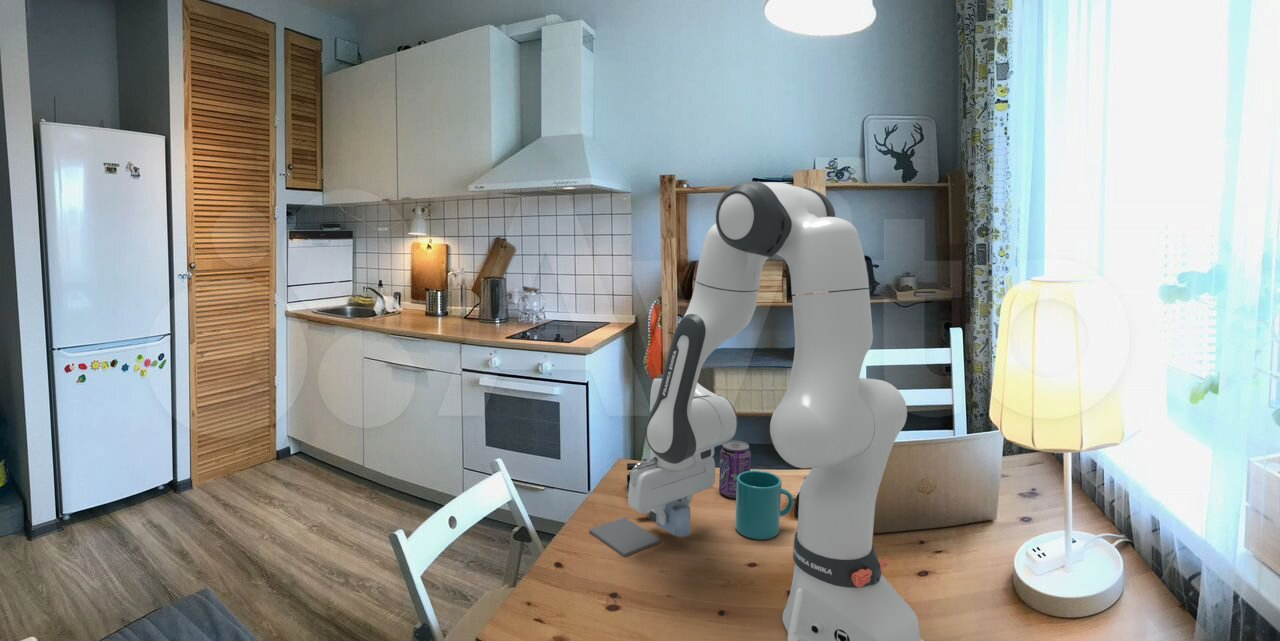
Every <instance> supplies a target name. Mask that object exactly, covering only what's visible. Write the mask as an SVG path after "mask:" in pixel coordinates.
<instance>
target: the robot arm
mask: <svg viewBox="0 0 1280 641" xmlns="http://www.w3.org/2000/svg"><path fill="white" fill-rule="evenodd" d="M774 255H778V256H780V257H782V259H783V260H784V261H785V262H786V264H787V266H788V268H789V274H790V287H791V288H790V289H791V300H792V313H793V327H794V329H793V330H794V353H793V362H792V366H791V371H790V375H789V378H788V379H789V380H788V383H787V387H786V390H785V393H784V395H783V397H782V399H781V401H780V403H779V404H778V406H776V408H775V410H774V411H773V413H772V414H771V419H770V423H769V433H770V439H771V442H772V444H773V447H774V449H775V450H776V452H777V453H778V455H779V456H780V457H781V458H782V459H783V460H784V461H785V462H786V463H788V464H789V465H791V466H793V467H795V468H798V469H799V468H800V469H811V470H810V471H809V473H808V474H807V476H806V477H805V478H804V480H803V482H802V484H801V486H800V489H799V494H798V512H797V531H796V532H795V534H794V539H793V550H792V559H793V561H794V568H793V577H792V580H791V587H790V591H789V594H788V595H789V596H788V599H787V602H786V605H785V608H784V609H783V612H782V624H783V625H784V628H785V630H786V632H787V639H786V641H925V640H924V639H923V638H922V637H921V632H920V624H919V619H918V616H917V615H916V612H915V611H914V610H913V609H912V608H911V606H910V605H909V604H908V603H907V602H906V601H905V600H904V598H902V596H901V595H900V594H899V593H898V592H897V591H896V589H895V587H893V586H892V585H891V583H890V582H889V581H888V579H887V578H885V576H884V575H883V574H882V572H883V571H882V569H885V568H886V567H887V566H888V560H889V558H888V557H885V558H884V559H881V560H880V561H879V558H878V556H877V553H876V549H875V546H874V544H873V537H874V527H875V526H874V524H875V523H874V522H875V513H876V512H875V510H876V504H877V497H878V493H879V489H880V486H881V483H882V479H883V476H884V473H885V470H886V467H887V464H888V460H889V457H890V454H891V451H892V449H893V445H894V444H895V441H896V439H897V437H898V436H899V434H900V432H901V431H902V430H903V428H904V426H905V425H906V422H907V418H908V408H907V404H906V400H905V398H904V396H903V395H902V393H901V392H900V391H899V390H898V389H897V387H895V386H894V385H893V384H891V383H889V382H887V381H885V380H882V379H876V378H865V377H860V376H861V371H862V367H863V363H864V360H865V358H866V357H867V356H866V355H867V353H869V351H870V349H871V347H872V344H873V340H874V335H873V334H874V333H873V332H874V331H873V321H872V308H871V296H870V285H869V276H868V270H867V263H866V259H865V254H864V250H863V246H862V242H861V239H860V237H859V232H858V229H857V228H856V227H855V225H853V223H852V222H850V221H848V220H846V219H844V218H841V217H837V216H836V212H835V208H834V206H833V204H832V202H831V201H830V199H829V198H828V197H827V196H826V195H825V194H823V193H821V192H820V191H819V190H816V189H813V188H811V187H800V186H796V185H791V184H788V183H786V182H785V183H784V182H773V181H772V182H770V181H769V182H761V181H747V182H743V183H739V184H735V185H734V186H732V187H730V188H729V189H727V190H726V191H725V193H723V195H722V196H721V198H720V199H719V201H718V204H717V206H716V210H715V223H714V224H713V225H712V226H711V227H710V228H709V229H708V232H707V233H706V236H705V239H704V242H703V245H702V249H701V251H700V256H699V258H698V259H699V260H698V264H697V270H696V276H695V281H694V282H695V283H694V288H693V293H692V296H691V298H690V301H689V304H688V306H687V309H686V311H685V314H684V316H682V318H681V320H680V321H679V323H678V324H677V325H676V327H675V330H674V334H673V337H672V340H671V343H670V346H669V350H668V354H667V358H666V362H665V366H664V370H663V373H662V374H659V375H657V376H656V377H654V379H653V380H652V384H651V388H650V397H649V398H650V399H649V415H648V417H647V420H646V424H645V439H646V442H647V445H648V447H649V448H650V449H649V450H650V456H649V457H650V458H649V459H647V460H646V461H644V462H643V461H640V462H636V463H637V464H636V466H635V467H634V468H633V469H632V470H630V483H629V492H628V491H627V494H628V495H627V503H628V504H627V505H628V506H629V507H630V508H631V509H633V510H634V511H636V512H638V513H639V512H641V513H642V512H645V511H648V510H650V509H653V508H654V510H655V511H656V513H657V514H658V522H659V524H661V525H665V524H668V523H669V515H668V514H666V513H664V511H663V509H665V504H667V503H670V502H673V501H676V500H679V499H682V500H681V503H683V504H685V505H687V506H689V507H690V505H691V504H692V501H693V495H695V494H698V493H701V492H703V491H706V490H709V489H712V488H713V486H714V485H715V483H716V463H715V459H714V455H715V448H716V447H719V446H722V444H724V443H726V442H728V441H732V440H733V439H734V437H735V435H736V433H737V430H738V423H739V422H738V415H737V412H736V409H735V407H734V405H733V404H732V402H730V400H729V399H727V398H726V397H725V396H722V395H720V394H716V393H714V392H712V391H710V390H709V389H707V388H706V387H704V386H702V385H701V384H700V383H699V381H698V380H699V378H700V375H701V371H702V367H703V366H704V363H705V362H706V360H707V359H708V357H709V356H711V354H713V352H714V351H716V349H717V348H719V347H720V346H722V344H724V343H725V342H727V341H728V340H730V339H731V338H733V337H735V336H736V335H738V334H739V333H741V332H742V331H743V330H744V329H745V328H747V327H748V326H749V324H750V322H751V320H752V319H753V316H754V313H755V310H756V308H757V305H758V304H757V303H758V297H759V291H760V284H761V276H762V271H763V268H764V267H763V266H764V265H765V262H766V261H767V260H768V259H769V258H771V257H773V256H774ZM642 514H643V513H642Z"/></svg>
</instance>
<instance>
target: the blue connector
mask: <svg viewBox="0 0 1280 641" xmlns="http://www.w3.org/2000/svg"><path fill="white" fill-rule="evenodd" d="M650 511H652V512H654V513H656V511H655V510H654V508H653V509H650ZM663 511H664V513H666V514H668V515H669V523H668V524H665V525H661V524H659V522H658V514H657V513H656V521H655V524H656V526H657V527H659V528H661V529H663V530H665V531H666V532H668V533H669V534H672V535H674V536H675V537H678V538H679V537H680V538H683V537H688V536H690V535H691V507H690V506H687V505H685V504H683V503H681V502H679V501H677V500H676V501H673V502H670V503H667V504H665V509H663Z"/></svg>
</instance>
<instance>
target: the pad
mask: <svg viewBox="0 0 1280 641" xmlns="http://www.w3.org/2000/svg"><path fill="white" fill-rule="evenodd" d="M588 530H589V533H590V534H591V535H593V537H595V538H597V539H598V540H599V541H601V542H603V543H604V544H606V546H608V547H610V548H611V550H612V549H613V551H616V552H617V553H618V554H620V556H622V557H624V558H626V557H628V556H630V555H633V554H635V553H637V552H641V551H643V550H645V549H648V548H650V547H652V546H656V545H657V544H660V543H661V541H662V540H661V539H660V538H659V537H658V536H655V535H654V534H652V533H651V532H649V531H648V530H646V529H644V527H641V526H639V525H638V524H636V523H635V522H633V521H632V520H629V518H626V517H621V518H619V519H616V520H613V521H609V522H607V523H604V524H601V525H599V526H595V527H593V528H590V529H588Z"/></svg>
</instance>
